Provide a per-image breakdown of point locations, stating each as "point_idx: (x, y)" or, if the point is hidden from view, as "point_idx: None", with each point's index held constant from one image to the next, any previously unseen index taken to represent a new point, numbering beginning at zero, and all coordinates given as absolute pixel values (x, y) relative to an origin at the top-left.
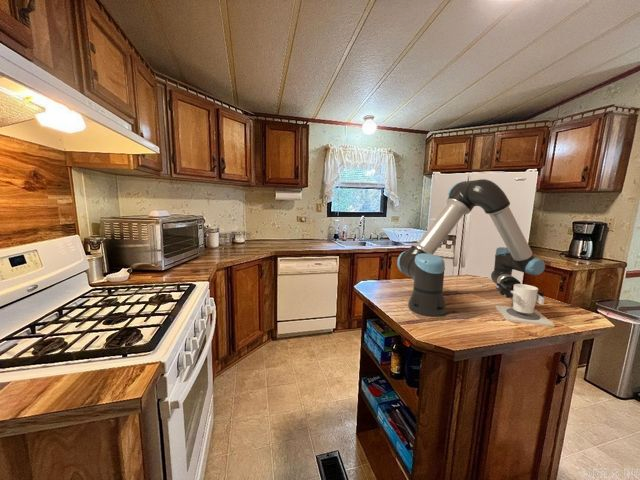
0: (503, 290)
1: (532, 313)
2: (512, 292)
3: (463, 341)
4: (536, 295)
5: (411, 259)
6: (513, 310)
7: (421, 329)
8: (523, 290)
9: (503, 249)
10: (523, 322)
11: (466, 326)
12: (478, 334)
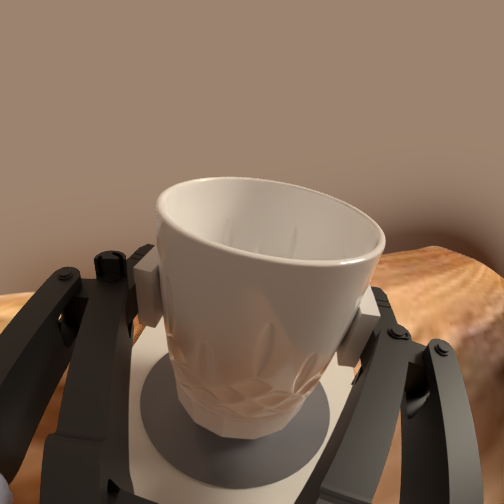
0: (431, 346)
1: (164, 401)
2: (368, 287)
3: (434, 257)
4: (206, 229)
5: None
6: (275, 441)
7: (495, 282)
8: (316, 206)
9: None
10: None
11: (449, 298)
12: (420, 273)
